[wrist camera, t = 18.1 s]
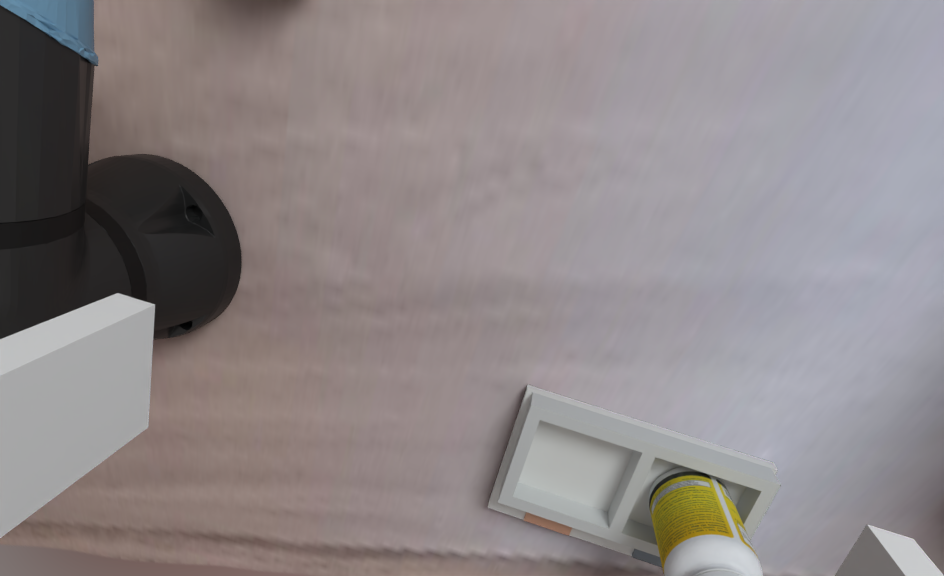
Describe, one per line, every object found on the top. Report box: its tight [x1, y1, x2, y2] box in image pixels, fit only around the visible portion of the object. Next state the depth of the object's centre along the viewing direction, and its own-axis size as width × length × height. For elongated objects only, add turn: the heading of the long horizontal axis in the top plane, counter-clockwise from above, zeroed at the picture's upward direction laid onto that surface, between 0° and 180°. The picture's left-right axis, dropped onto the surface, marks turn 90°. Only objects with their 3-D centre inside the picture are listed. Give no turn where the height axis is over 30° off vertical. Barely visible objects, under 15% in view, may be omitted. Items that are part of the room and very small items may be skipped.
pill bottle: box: [649, 467, 763, 576], centre depth 38 cm, size 6×6×11 cm
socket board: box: [487, 385, 781, 567], centre depth 44 cm, size 20×12×3 cm, turn 75°
